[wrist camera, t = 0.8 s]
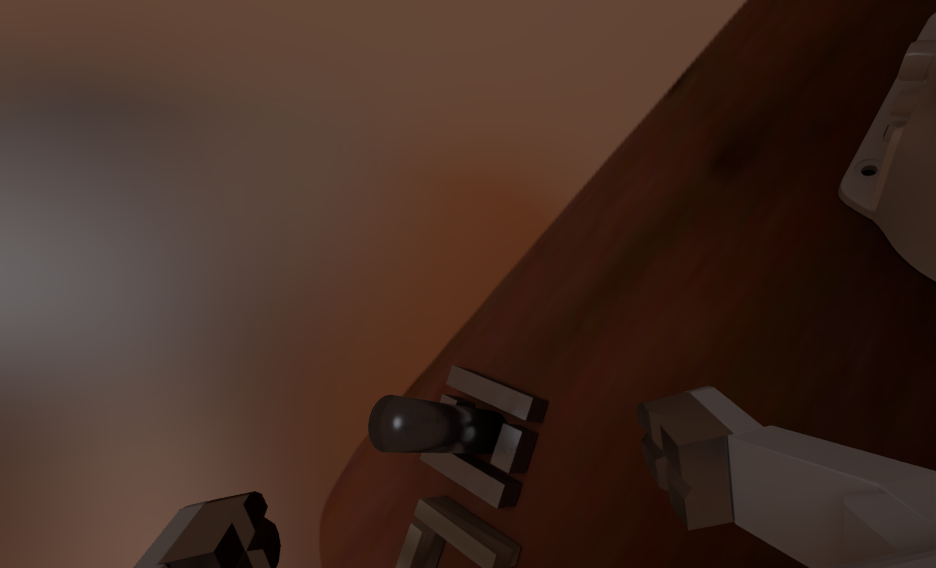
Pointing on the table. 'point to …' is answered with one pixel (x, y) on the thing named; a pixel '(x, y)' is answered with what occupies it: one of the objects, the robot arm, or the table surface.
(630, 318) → the table surface
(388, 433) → the dark rounded handle
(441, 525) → the rack
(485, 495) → the socket
